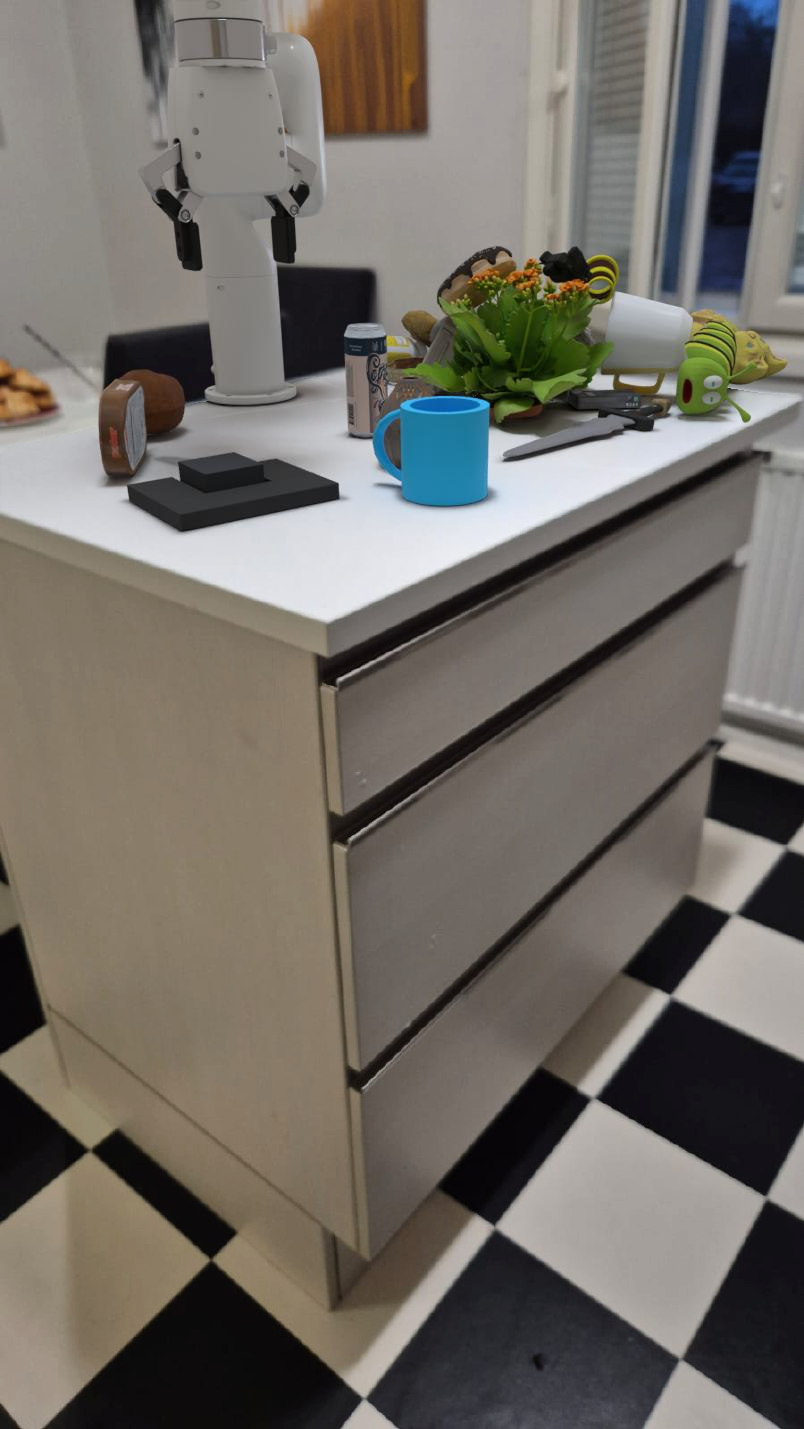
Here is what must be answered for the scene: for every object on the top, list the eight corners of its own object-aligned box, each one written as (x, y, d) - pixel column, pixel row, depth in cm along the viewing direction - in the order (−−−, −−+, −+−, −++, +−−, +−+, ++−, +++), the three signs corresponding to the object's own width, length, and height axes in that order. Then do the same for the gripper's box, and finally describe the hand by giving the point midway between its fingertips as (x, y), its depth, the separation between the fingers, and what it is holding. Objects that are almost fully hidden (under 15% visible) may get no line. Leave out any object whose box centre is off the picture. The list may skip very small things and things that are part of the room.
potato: (206, 429, 120) (199, 364, 117) (150, 448, 112) (141, 379, 108) (150, 423, 123) (141, 360, 120) (91, 442, 115) (81, 375, 111)
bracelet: (453, 377, 148) (453, 356, 147) (430, 387, 141) (430, 365, 140) (400, 373, 151) (400, 353, 150) (375, 383, 144) (374, 362, 143)
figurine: (709, 305, 144) (803, 328, 136) (696, 365, 150) (785, 392, 141) (665, 315, 138) (760, 341, 129) (652, 378, 143) (743, 407, 134)
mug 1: (502, 488, 95) (505, 401, 91) (461, 510, 89) (462, 417, 85) (397, 473, 101) (395, 389, 97) (351, 492, 94) (347, 404, 91)
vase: (384, 455, 107) (382, 371, 103) (448, 457, 106) (448, 371, 102) (372, 472, 101) (370, 383, 97) (439, 474, 100) (439, 384, 96)
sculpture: (476, 376, 150) (450, 374, 163) (489, 355, 149) (462, 356, 163) (406, 322, 145) (386, 325, 159) (419, 301, 144) (398, 306, 158)
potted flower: (373, 423, 120) (369, 266, 112) (440, 389, 140) (440, 252, 131) (575, 438, 112) (587, 269, 104) (617, 399, 131) (629, 254, 123)
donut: (525, 276, 130) (510, 249, 130) (514, 260, 119) (497, 230, 119) (454, 325, 134) (439, 298, 133) (437, 314, 123) (420, 285, 122)
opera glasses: (592, 272, 121) (624, 294, 122) (596, 245, 123) (627, 267, 125) (544, 326, 128) (575, 345, 130) (549, 300, 131) (578, 319, 133)
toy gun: (561, 261, 113) (595, 299, 115) (579, 240, 112) (613, 279, 114) (512, 269, 131) (543, 302, 133) (528, 251, 131) (558, 284, 133)
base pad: (128, 500, 93) (126, 484, 93) (277, 472, 101) (276, 458, 101) (182, 531, 85) (179, 514, 84) (339, 498, 93) (339, 482, 92)
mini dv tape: (577, 397, 125) (567, 389, 131) (577, 409, 126) (567, 401, 131) (641, 395, 126) (629, 388, 131) (640, 407, 126) (628, 399, 132)
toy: (668, 358, 117) (756, 364, 113) (719, 293, 136) (795, 296, 132) (663, 420, 121) (747, 428, 117) (713, 349, 140) (787, 353, 136)
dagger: (687, 415, 123) (689, 398, 122) (560, 471, 100) (561, 450, 99) (631, 408, 127) (633, 392, 126) (497, 460, 104) (497, 440, 103)
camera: (434, 354, 144) (467, 294, 137) (466, 377, 144) (500, 318, 137) (402, 380, 136) (435, 317, 129) (436, 404, 136) (471, 343, 129)
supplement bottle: (359, 377, 151) (416, 379, 155) (372, 365, 146) (431, 368, 150) (355, 341, 151) (413, 345, 155) (368, 328, 146) (428, 332, 150)
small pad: (181, 492, 95) (177, 461, 94) (237, 482, 99) (234, 451, 97) (208, 506, 91) (204, 474, 90) (266, 495, 94) (263, 463, 93)
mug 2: (700, 280, 124) (616, 273, 126) (690, 344, 120) (604, 336, 122) (683, 356, 136) (606, 349, 138) (674, 416, 133) (596, 408, 135)
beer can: (383, 439, 114) (381, 328, 108) (343, 438, 115) (338, 327, 109) (392, 430, 118) (390, 322, 112) (353, 429, 119) (349, 322, 113)
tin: (127, 450, 111) (115, 372, 107) (155, 449, 111) (144, 371, 107) (102, 486, 98) (88, 398, 94) (134, 485, 98) (122, 397, 94)
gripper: (287, 56, 92) (299, 257, 101) (108, 49, 84) (138, 269, 92) (329, 50, 87) (337, 263, 95) (142, 42, 78) (170, 276, 87)
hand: (239, 266), depth 94 cm, fingers open, 9 cm apart
